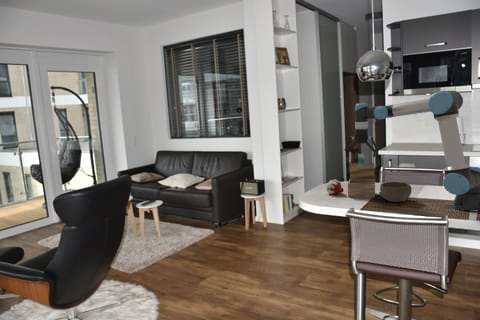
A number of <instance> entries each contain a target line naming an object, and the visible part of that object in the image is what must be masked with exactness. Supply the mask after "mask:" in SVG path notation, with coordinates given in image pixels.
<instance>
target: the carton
mask: <svg viewBox="0 0 480 320" xmlns="http://www.w3.org/2000/svg"><path fill="white" fill-rule="evenodd" d="M375 196H376V179H350V178H349V180H348V182H347V198H363V199H365V198H367V199H369V198H370V199H375Z"/></svg>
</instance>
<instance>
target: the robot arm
mask: <svg viewBox="0 0 480 320" xmlns="http://www.w3.org/2000/svg"><path fill="white" fill-rule="evenodd" d="M463 103H464V98H463V95H462V94H461V93H460V92H459V91H456V90H440V91H439V90H438V91H436V92H434V93H433V94H432V95H431V96H430V97H429V98H424V99H418V100H414V101H413V100H412V101H407V102H402V103H393V104H388V105H376V106H369V103H365V102H364V103H355V106H354V107H355V108H354V115H355V119H354V127H355V130H354V131H355V132H354V136H351V135H350V136H349V140H348V143H347V145H346V146H345V148H344V152H347V158H349V160H348V161H349V162H348V164H349V163H352V152H351V151H352V149H353V148H354V147H355V146H356V145H357V144H359V145H360V144H366V145H367V146H368V147H369V149H370V150H371V164H374V160H375V159H374V158H376V153H377V152H379V147H378V145H377V143H376V142H375V140H374V136H373V135H371V136H369V130H368V128H369V122H368V121H369V120H384V119H389V118H390V119H391V118H397V117H403V116H408V115H409V116H410V115H416V114H417V115H418V114H424V113H430V112H431V113H432V114H433V119H434V120H435V121H436V122H437V123H438V128H439V132H440V133H439V134H440V138H441V145H442V149H443V153H444V160H445V165H446V167H445V168H444V171H443V172H444V177H443V181H442V186H443V187H444V188H443V189H445V190H446V192H448V193H449V194H452V195H455V196H454V199H453V201H452V208H453V207H455V208H458V209H463V210H480V166H472V165H471V166H470V165H468V164H467V163H466V161H465V156H464V152H463V151H464V150H463V146H462V141H461V135H460V130H459V125H458V120H457V118H458V117H459V115H460V113H459V110H460V109H461V108H462V107H463ZM353 140H355V142H353V144H352V145H351V142H352V141H353ZM368 140H370V141H371V142H372V145H373V146H374V147H373V146H372V145H371V143H369V141H368ZM350 145H351V146H350ZM455 208H454V209H455ZM458 209H457V210H458ZM463 210H462V211H463Z"/></svg>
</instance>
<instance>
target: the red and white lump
mask: <svg viewBox="0 0 480 320" xmlns="http://www.w3.org/2000/svg"><path fill="white" fill-rule="evenodd" d="M326 192H327V193H328V194H330V195H338V194H340V193H341V194H342V193H343V192H344V188H343V187H342V183H341V181H339V180H338V179H335V178H334V179H331V180H329V181H328V182H327V184H326Z"/></svg>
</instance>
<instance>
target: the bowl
mask: <svg viewBox="0 0 480 320" xmlns="http://www.w3.org/2000/svg"><path fill="white" fill-rule="evenodd" d="M412 189H413V188H412V187H411V184H410V183H408V182H402V181H401V182H400V181H389V182H387V181H386V182H382V183H380V187H379V192H378V194H379V196H380V197H382V198H383V200H385V201H386V202H390V203H402V202H405V201H407V200H408V199H409V198H410V196H411V195H412Z"/></svg>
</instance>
